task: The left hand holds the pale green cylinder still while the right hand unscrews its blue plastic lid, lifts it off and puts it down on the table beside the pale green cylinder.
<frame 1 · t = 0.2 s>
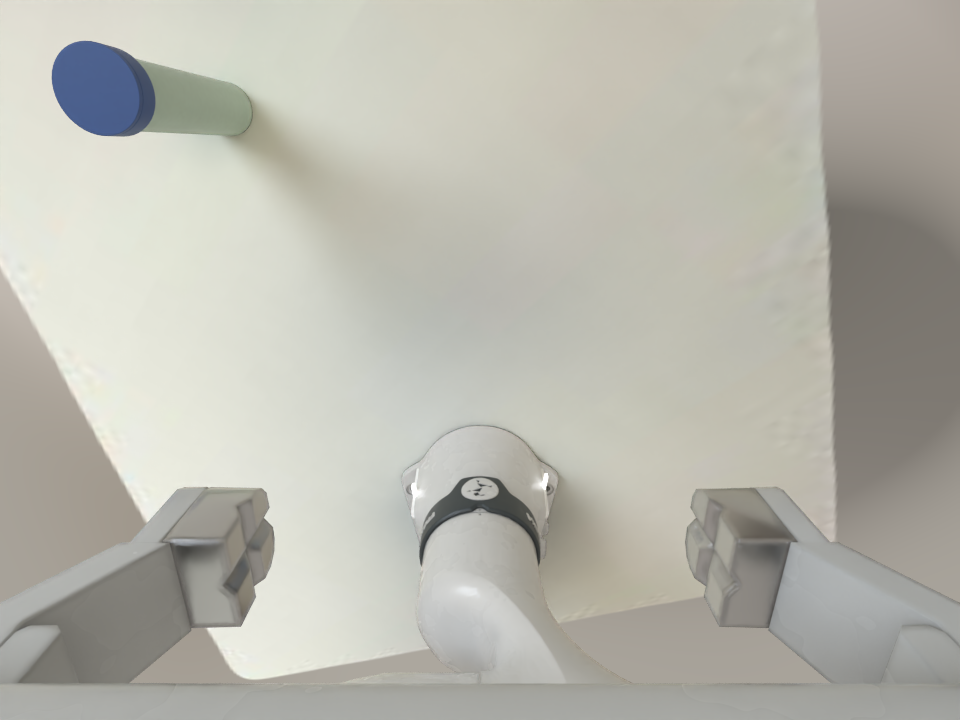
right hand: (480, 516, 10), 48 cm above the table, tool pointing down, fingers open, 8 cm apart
lid: (99, 90, 34), point 19 cm above the table, screwed on, not yet turned
pale green cylinder: (227, 109, 52), on the table
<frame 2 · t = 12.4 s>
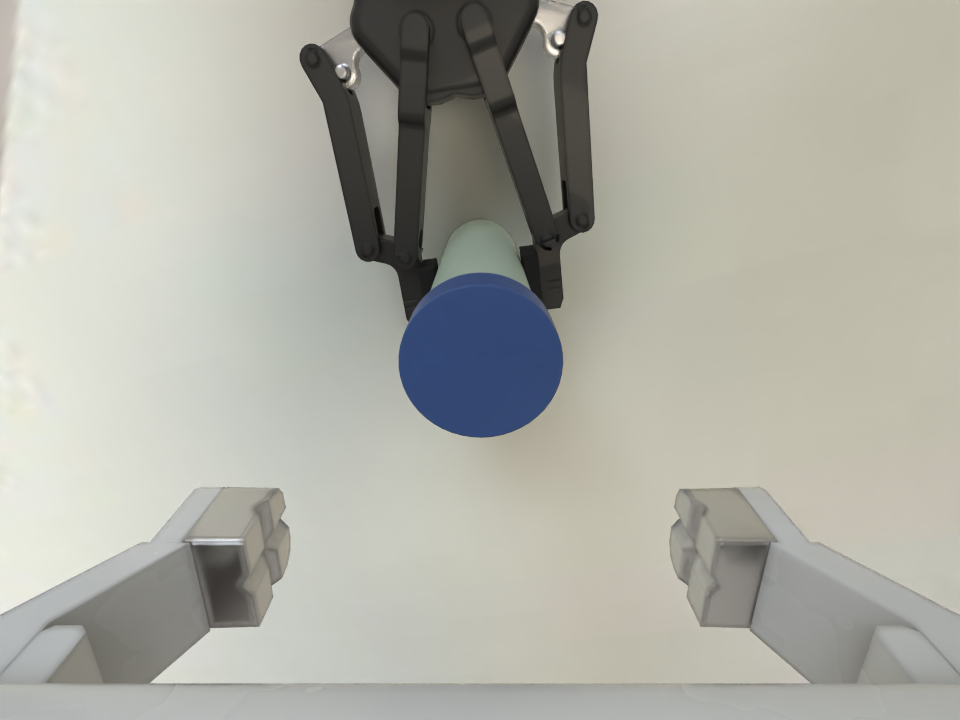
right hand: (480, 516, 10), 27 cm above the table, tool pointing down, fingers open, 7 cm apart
left hand: (493, 369, 31), fingers closed on pale green cylinder, 5 cm apart
lid: (480, 361, 18), point 19 cm above the table, screwed on, not yet turned
pale green cylinder: (480, 255, 35), on the table, touching left hand
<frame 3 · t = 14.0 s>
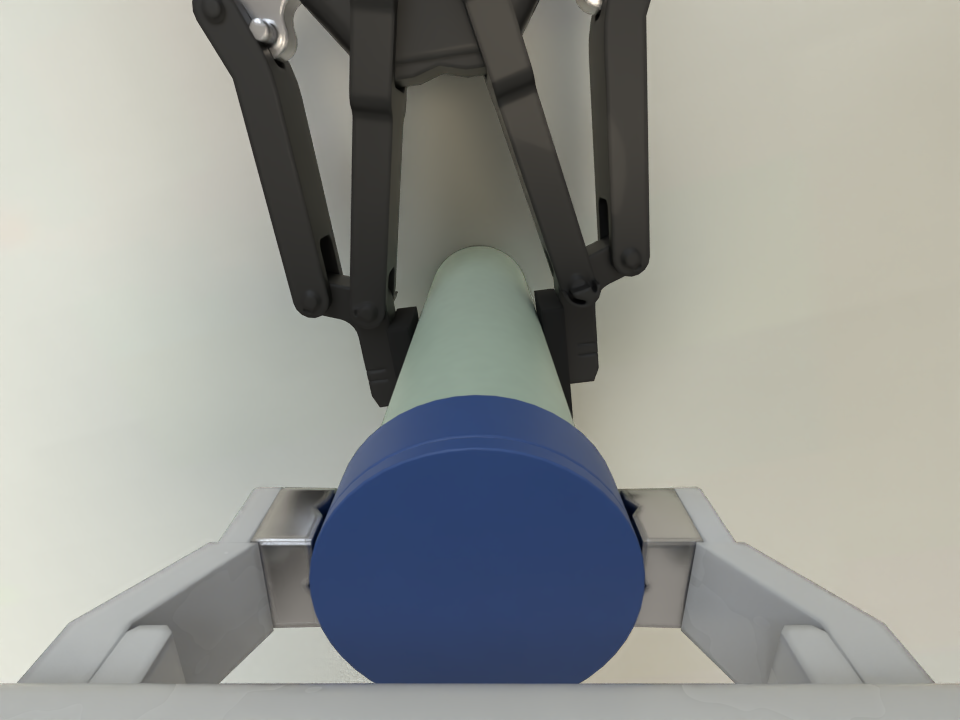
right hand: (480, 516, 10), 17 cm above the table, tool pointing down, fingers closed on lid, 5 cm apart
lid: (477, 578, 9), point 19 cm above the table, screwed on, not yet turned, touching right hand
pale green cylinder: (479, 293, 26), on the table, touching left hand
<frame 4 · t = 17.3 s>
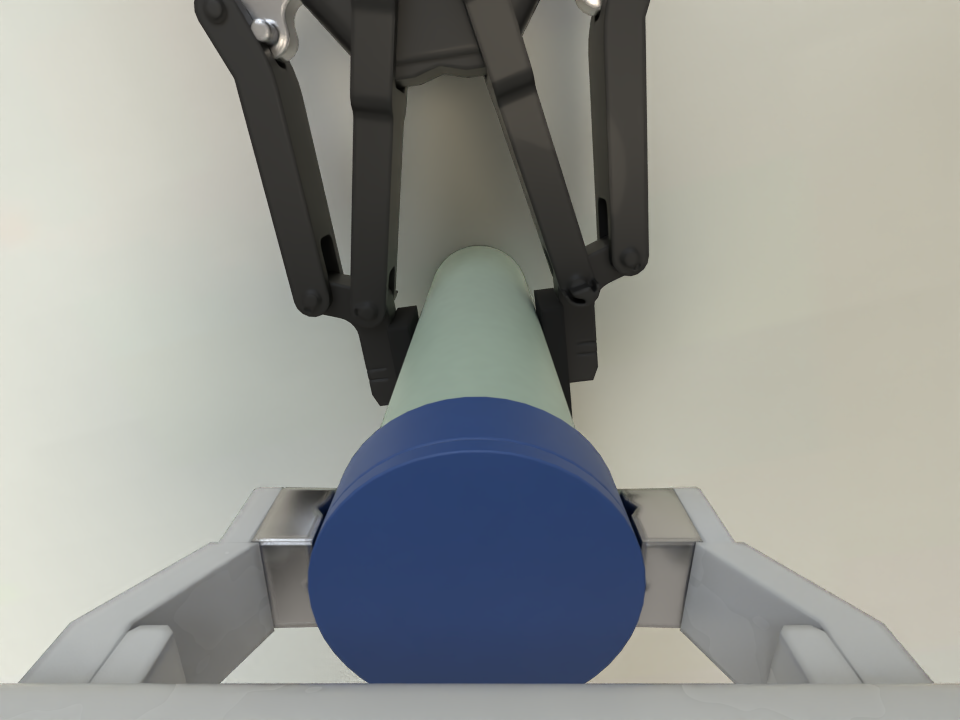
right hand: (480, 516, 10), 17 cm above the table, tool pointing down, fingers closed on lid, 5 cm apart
left hand: (496, 459, 22), fingers closed on pale green cylinder, 5 cm apart
lid: (476, 581, 9), point 19 cm above the table, turned 94° so far, risen 0.2 cm, still on its thread, touching right hand
pale green cylinder: (479, 293, 26), on the table, touching left hand
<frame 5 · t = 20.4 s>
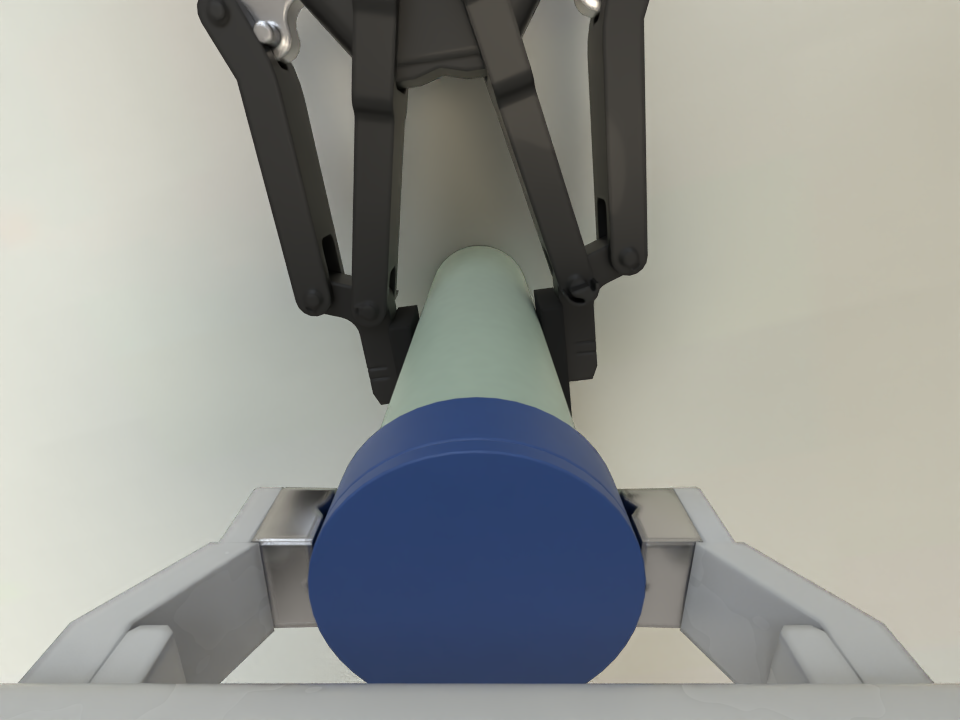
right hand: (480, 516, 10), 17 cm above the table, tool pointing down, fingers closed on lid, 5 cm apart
left hand: (496, 458, 22), fingers closed on pale green cylinder, 5 cm apart
lid: (477, 581, 9), point 19 cm above the table, turned 187° so far, risen 0.3 cm, still on its thread, touching right hand
pale green cylinder: (479, 292, 27), on the table, touching left hand
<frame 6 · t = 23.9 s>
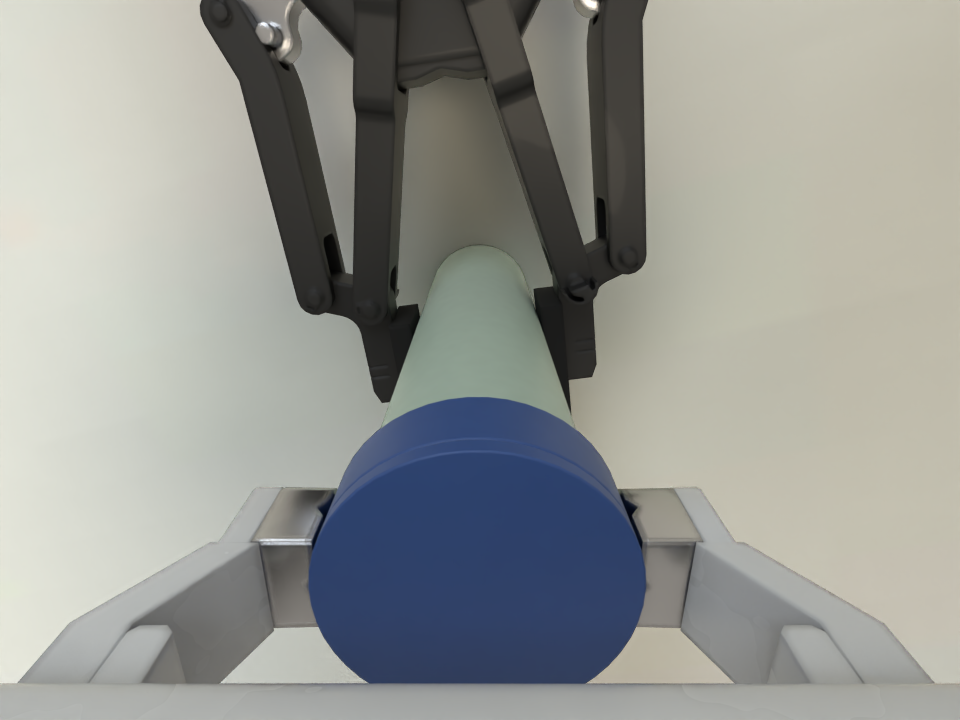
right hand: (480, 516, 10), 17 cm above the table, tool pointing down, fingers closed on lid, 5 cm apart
left hand: (496, 455, 23), fingers closed on pale green cylinder, 5 cm apart
lid: (477, 581, 9), point 19 cm above the table, turned 280° so far, risen 0.5 cm, still on its thread, touching right hand
pale green cylinder: (479, 292, 27), on the table, touching left hand
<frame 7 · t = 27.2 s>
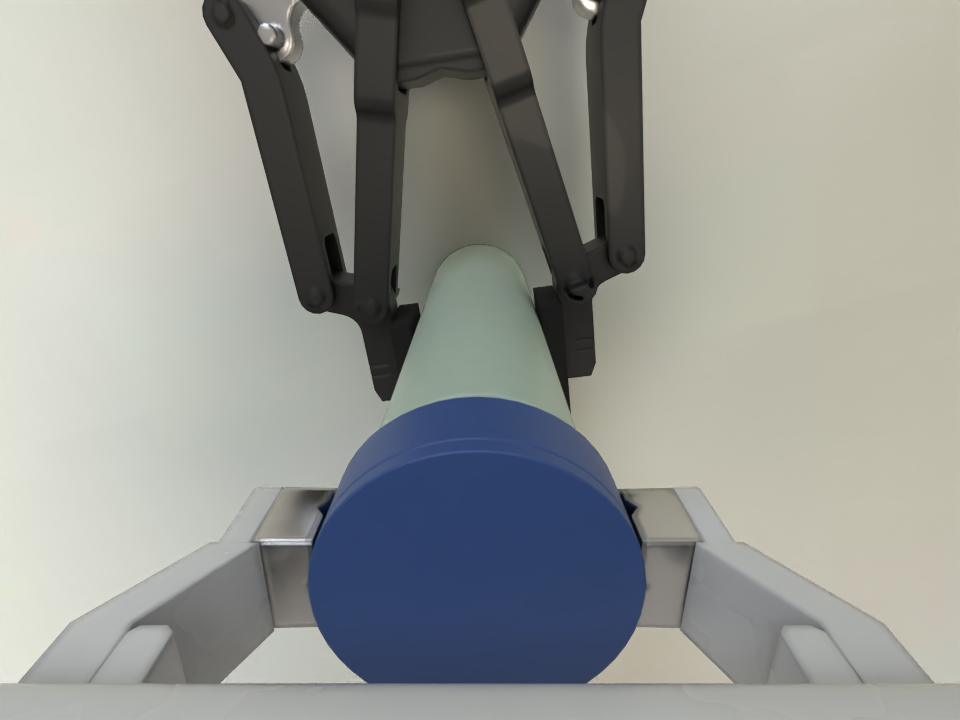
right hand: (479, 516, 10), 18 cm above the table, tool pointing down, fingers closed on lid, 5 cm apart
left hand: (496, 454, 23), fingers closed on pale green cylinder, 5 cm apart
lid: (477, 581, 9), point 19 cm above the table, turned 374° so far, risen 0.6 cm, still on its thread, touching right hand
pale green cylinder: (479, 291, 27), on the table, touching left hand
when the right hand's fingers open (2 cm above the table, at t = 37.3 s): lid drops 2 cm, point 1 cm above the table.
when the left hand's fingers open (7 cm above the table, at t = 38.2 s): pale green cylinder stays where it is, on the table.
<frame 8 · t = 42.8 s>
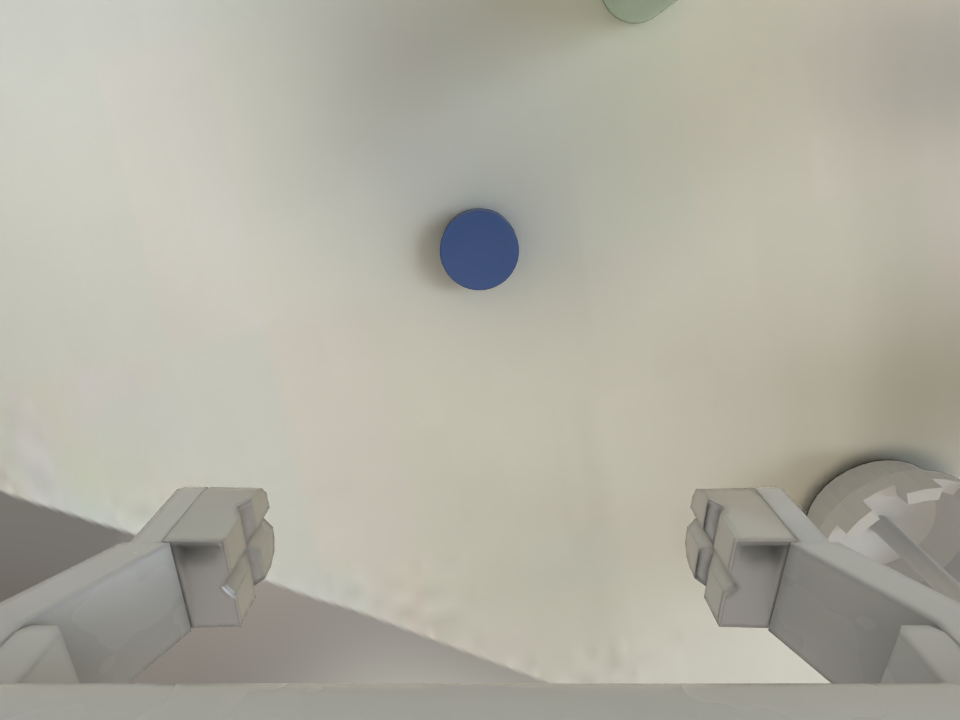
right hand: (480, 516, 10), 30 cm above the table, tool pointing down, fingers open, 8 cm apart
lid: (479, 250, 37), point 1 cm above the table, off its thread
flag stand: (869, 514, 47), on the table
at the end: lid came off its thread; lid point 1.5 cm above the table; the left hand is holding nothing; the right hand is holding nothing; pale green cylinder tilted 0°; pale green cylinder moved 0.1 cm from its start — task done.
